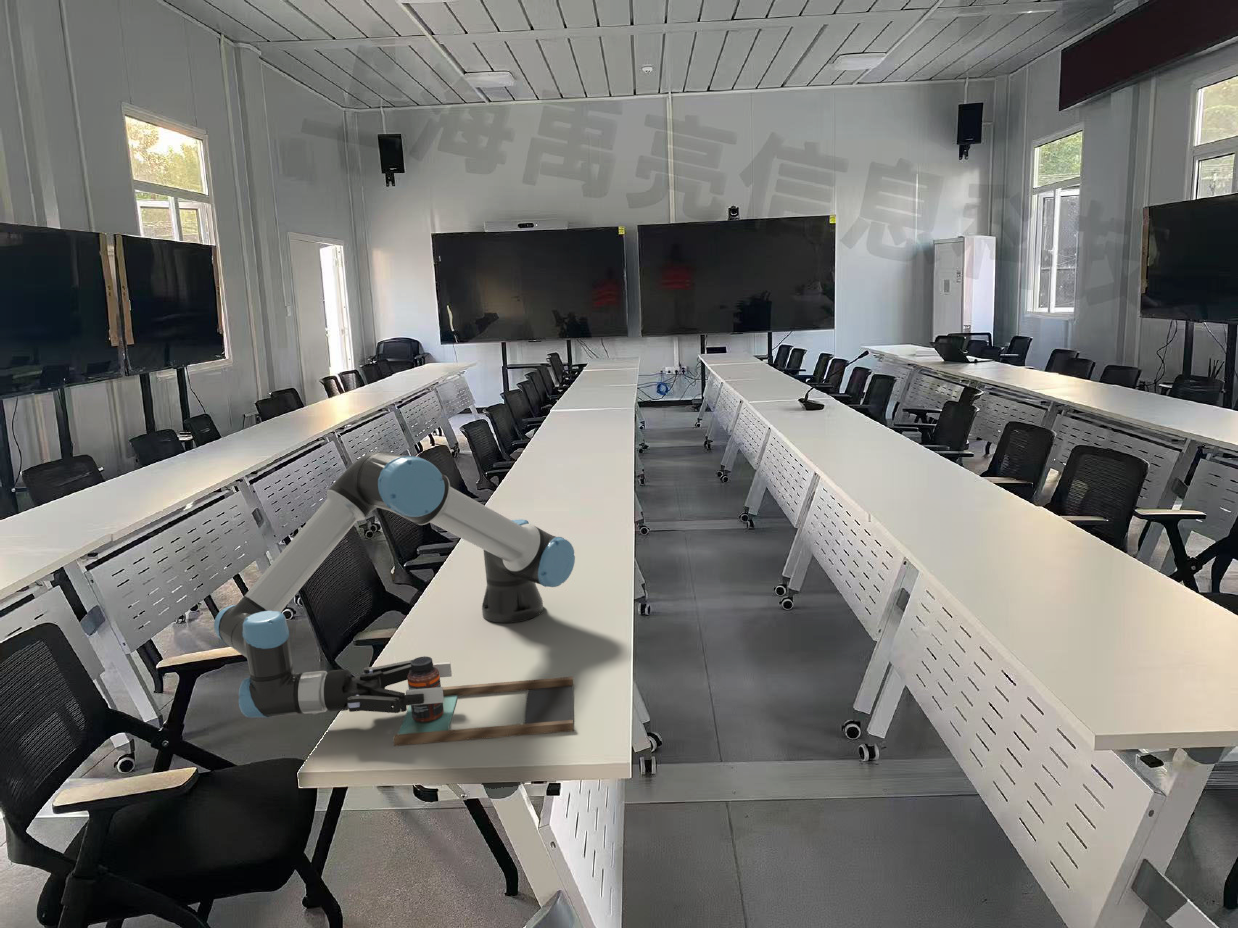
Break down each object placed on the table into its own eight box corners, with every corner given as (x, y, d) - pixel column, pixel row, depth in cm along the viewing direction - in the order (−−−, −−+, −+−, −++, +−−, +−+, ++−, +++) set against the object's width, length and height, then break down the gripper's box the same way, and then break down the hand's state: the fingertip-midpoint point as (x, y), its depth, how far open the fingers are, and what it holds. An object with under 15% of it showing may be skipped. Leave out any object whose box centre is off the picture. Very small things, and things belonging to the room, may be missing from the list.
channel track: (394, 745, 154) (393, 737, 154) (413, 696, 173) (412, 689, 172) (573, 730, 155) (572, 722, 155) (573, 683, 174) (572, 676, 174)
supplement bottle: (446, 707, 166) (440, 652, 164) (441, 722, 161) (435, 665, 158) (415, 709, 166) (409, 654, 164) (409, 724, 160) (402, 668, 158)
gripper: (345, 682, 173) (456, 674, 174) (312, 740, 151) (440, 729, 152) (341, 647, 172) (453, 639, 173) (307, 700, 149) (435, 690, 150)
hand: (447, 681), depth 162 cm, fingers open, 10 cm apart
